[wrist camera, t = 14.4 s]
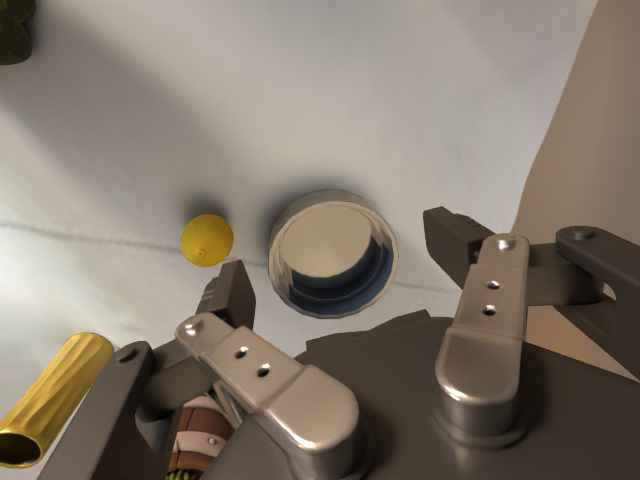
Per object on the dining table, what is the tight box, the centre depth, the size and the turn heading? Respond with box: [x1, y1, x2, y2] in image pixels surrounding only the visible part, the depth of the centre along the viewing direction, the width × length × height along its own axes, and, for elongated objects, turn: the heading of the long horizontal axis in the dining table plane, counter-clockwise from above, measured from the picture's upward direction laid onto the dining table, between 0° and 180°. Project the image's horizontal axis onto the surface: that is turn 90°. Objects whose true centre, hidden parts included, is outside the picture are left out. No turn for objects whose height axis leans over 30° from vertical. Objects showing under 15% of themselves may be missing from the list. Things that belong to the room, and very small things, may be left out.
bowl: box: [268, 190, 398, 319], centre depth 41 cm, size 15×15×6 cm
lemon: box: [180, 214, 234, 267], centre depth 37 cm, size 6×6×8 cm
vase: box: [0, 333, 113, 469], centre depth 39 cm, size 6×6×14 cm
